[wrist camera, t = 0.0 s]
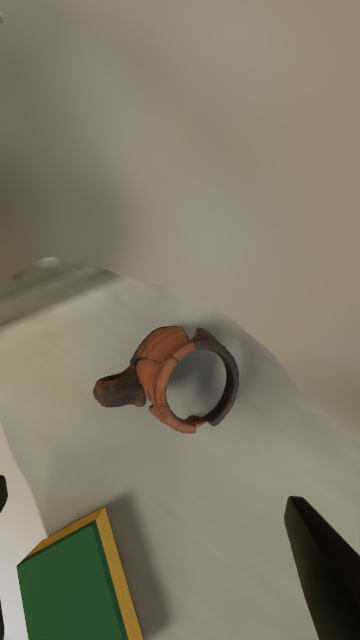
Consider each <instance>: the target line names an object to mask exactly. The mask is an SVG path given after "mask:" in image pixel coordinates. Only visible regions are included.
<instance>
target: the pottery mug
mask: <svg viewBox="0 0 360 640" xmlns="http://www.w3.org/2000/svg"><path fill="white" fill-rule="evenodd" d="M196 331H197V333H196V334H195V336H194V337H193V338H192V339H191V340H189V339H188V337H187V334H186V333H185V331H184V329H183V327H179V326H175V325H174V326H165V327H160V328H157V329H155V330H154V331H152V332H151V333H150V334H149V335H148V336H147V337H146V338H145V339H144V340H143V341H142V342H141V344H140V345H139V347H138V349H137V350H136V352H135V353H134V355H133V357H132V358H131V360H130V366H129V367H128V368H127V369H126V370H124V371H123V372H121V373H118V374H115V375H111V376H107V377H104V378H101V379H99V380H98V381H97V382H96V385H95V387H94V389H93V394H94V397H95V399H96V400H97V401H98V402H99V403H100V404H101V405H102V406H104V407H120V406H124V405H128V404H133V405H136V406H137V407H142V406H144V405H145V404H146V397H147V398H148V400H149V401H151V403H152V404H153V405H152V406H150V407H149V410H150V412H151V413H152V414H153V415H154V416H155V417H156V418H158V419H159V420H160V421H161V422H163V423H164V424H166V425H168V426H170V427H171V428H173V429H175V430H176V431H179V432H181V433H189V434H193V433H196V428H197V427H199V426H201V425H203V424H205V423H207V422H208V423H209V424H210V425H212V426H216V425H218V424H219V423H220V422H221V421H222V420H223V419H224V418H225V416H226V415H227V414H228V413H229V411H230V410H231V408H232V406H233V405H234V402H235V399H236V393H237V392H238V387H239V371H238V366H237V363H236V361H235V359H234V357H233V356H232V355H231V353H230V352H229V351H228V350H227V349H226V348H225V346H223V345H221V344H220V343H219V342H218V341H217V339H216V338H215V337H214V336H212V335H211V334H210V332H209V331H208V330H205V329H203V328H197V329H196ZM202 349H204V350H210V351H213V352H215V353H216V354H218V355H219V356H220V357H221V359H222V361H223V362H224V365H225V368H226V376H227V377H226V385H225V388H224V391H223V394H222V397H221V398H220V400H219V402H218V403H217V405H216V406H215V407H214V408H213V409H212V410H211V411H210V412H209V413H208V414H206V415H205V416H203V417H199V416H190V417H188V418H187V419H185V420H183V419H180V418H178V417H177V416H176V415H175V414H174V413H173V412H172V411H171V409H170V407H169V405H168V403H167V397H166V390H167V383H168V380H169V377H170V374H171V372H172V370H173V369H174V367H175V366H176V364H177V363H178V362H179V361H180V360H181V359H182V358H183V357H184V356H186V355H187V354H189V353H192V352H194V351H196V350H202ZM138 361H139V362H138Z"/></svg>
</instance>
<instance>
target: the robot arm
mask: <svg viewBox="0 0 360 640" xmlns="http://www.w3.org/2000/svg"><path fill="white" fill-rule="evenodd" d="M7 497H8V493H7V486H6V480H5V477H4V476H3V475H0V513H1V511H2V509H3V507H4V505H5V503H6V501H7ZM284 521H285V526H286V530H287V534H288V537H289V541H290V545H291V549H292V552H293V556H294V560H295V564H296V567H297V571H298V575H299V578H300V582H301V586H302V589H303V593H304V596H305V599H306V602H307V605H308V608H309V611H310V614H311V617H312V620H313V623H314V626H315V629H316V632H317V635H318V637H319V640H360V556H359V555H358V554H357V552H356V551H355V550H354V549H353V548H352V547H351V546H350V545H349V544H348V543H347V542H346V541H345V540H344V539H343V538H342V537H341V536H340V535H339V534H338V533H337V532H336V531H335V530H334V529H333V528H332V527H331V526H330V525H329V523H328V522H327V521H326V520H325V519H324V518H323V517H322V516H321V515H320V514H319V513H318V512H317V511H316V510H315V509H314V508H313V507H312V506H311V505H310V504H309V503H308V502H307V501H306V500H305V499H304V498H303V497H299V496H289V497H288V500H287V505H286V510H285V515H284Z"/></svg>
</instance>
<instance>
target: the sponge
mask: <svg viewBox="0 0 360 640" xmlns="http://www.w3.org/2000/svg"><path fill="white" fill-rule="evenodd" d="M17 571H18V578H19V584H20V590H21V596H22V602H23V608H24V614H25V620H26V626H27V632H28V638H29V640H143V637H142V634H141V630H140V627H139V624H138V620H137V617H136V613H135V610H134V606H133V603H132V599H131V596H130V592H129V589H128V585H127V582H126V578H125V575H124V572H123V568H122V565H121V561H120V558H119V554H118V551H117V547H116V544H115V540H114V537H113V533H112V530H111V526H110V523H109V519H108V516H107V513H106V509H105V507H103V508H101V509H99V510H97V511H95V512H93V513H92V514H90V515H88V516H86V517H84V518H82V519H81V520H79V521H77V522H75V523H73V524H71V525H70V526H68V527H66V528H64V529H62V530H60V531H59V532H57V533H55V534H53V535H51V536H49V537H48V538H46V539H44V540H42V541H41V542H40V543H39V544H38V545H37V546H36V547H35V548H34V549H33V550H32V551H31V552H30V553H29V554H28V555H27V556H26V557H25V558H24V559H23V560H22V561H21V562H20V563H19V564H18V565H17Z"/></svg>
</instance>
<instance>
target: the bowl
mask: <svg viewBox="0 0 360 640" xmlns="http://www.w3.org/2000/svg"><path fill="white" fill-rule="evenodd" d="M3 638H4V623H3V616H2V609H1V602H0V640H3Z"/></svg>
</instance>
